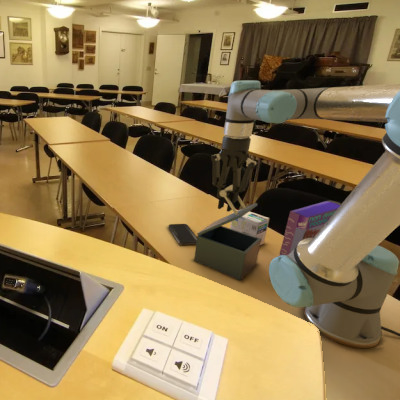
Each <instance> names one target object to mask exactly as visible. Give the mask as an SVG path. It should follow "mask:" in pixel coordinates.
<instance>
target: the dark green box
mask: <svg viewBox="0 0 400 400" xmlns="http://www.w3.org/2000/svg"><path fill="white" fill-rule="evenodd" d="M196 237H197V242H196V244H195V251H194V258H193V261H194V262H195V263H198V264H200V265H203V266H206V267H208V268H210V269H212V270H215V271H217V272H220V273H222V274H224V275H226V276H229V277H231V278H233V279H236V280H238V281H242V279H243V278H244V277H245V276H246V275H247V274H248V273H249V272H250V271H251V270H252V269H253V268H254V267H255V266H256V265H257V261H258V257H259V252H260V248H261V245H260V244H261V238H258V237H254V236H251V235H248V234H245V233H242V232H239V231H236V230H233V229H230V228H229V227H227V226H224V225H222V226H220V227H217V228H215V229H213V230H210V231H208V232H206V233H203V234H201V235H196Z"/></svg>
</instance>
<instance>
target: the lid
mask: <svg viewBox="0 0 400 400" xmlns="http://www.w3.org/2000/svg"><path fill="white" fill-rule="evenodd" d="M224 188H225V189H223V190H221V191H220V196H221V197H224V198H225V202H227V205H228V204H229V206H230V207H231V209H232V210H231V211H232V213H230V214H229V215H226V216H223V217H222V218H219V219H217V220H214V221H212V222H211V223H210V224H209V225H207V226H206V227H204V228H203V229H201V230H200V231H198V232H197V233H196V234H197V235H196V236H198V235H201V234H203V233H206V232H208V231H210V230H213V229H215V228H217V227H220V226H224V225H227V224H229V223H231V221H234V220H236V219H239V218H241V217H242V216H244V215H245V214H246V213H248V212H249V211H250V212H251V211H252V210H253V209H255V208H256V207H257V206H258V202H255V203H253V204H251V205H249V206H246V205H245V203H244V202H243V200H242V198H241V197H240V195H238V199H237V201H238V203H239V204H240V206H241V207H242V208H241V209H242V210H241V209H238V210H237V209H236V207H235V206H234V204H232V203H231V201H230V200H229V193H230V192H231V191H232V190H233V184H229V186H227V187H224ZM233 212H234V213H233Z"/></svg>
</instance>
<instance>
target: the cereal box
mask: <svg viewBox="0 0 400 400" xmlns="http://www.w3.org/2000/svg"><path fill="white" fill-rule="evenodd" d="M341 204H342V203H341V202H339V201H335V200H331V199H329V200H325V201H322V202H319V203H315V204H311V205H308V206H307V205H306V206H304V207H301V208H298V209H297V208H296V209H293V210H290V211H289V215H288V218H287V222H286V226H285V230H284V231H285V232H284V235H283V237H282V238H283V239H282V243H281V247H280V250H279V254H278V256H280V255H288V254H290V253H291V252H292V251H293V250H294V248H295V247H296V246H297V245H298V243H299V242H300V241H302V240H303V239H306V238H314V237H315V235H316V234H317V233H318V232H319V231H320V229H321V228H322V227H323V226H324V225H325V223H326V222H327V221H328V220H329V219H330V217H331V216H332V215H333V214H334V213H335V211H336V210H337V209H338V208H339V207H340V205H341Z"/></svg>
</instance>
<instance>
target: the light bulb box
mask: <svg viewBox="0 0 400 400" xmlns="http://www.w3.org/2000/svg"><path fill="white" fill-rule="evenodd" d="M242 209H243V208H241V209H240V210H242ZM233 213H234V212H233V211H232V214H233ZM269 223H270V217H267V216H264V215H261V214H258V213H255V212H252V211H251V210H250V211H249V212H248V213H246V214H245V215H244V216H242V217H241V218H239V219H236V220H234V221H231V222H230V226H229V227H230V229H233V230H236V231H239V232H242V233H245V234H248V235H251V236H254V237H258V238H261V244H260V246H262V245H264V244H265V240H266V235H267V231H268V227H269Z"/></svg>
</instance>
